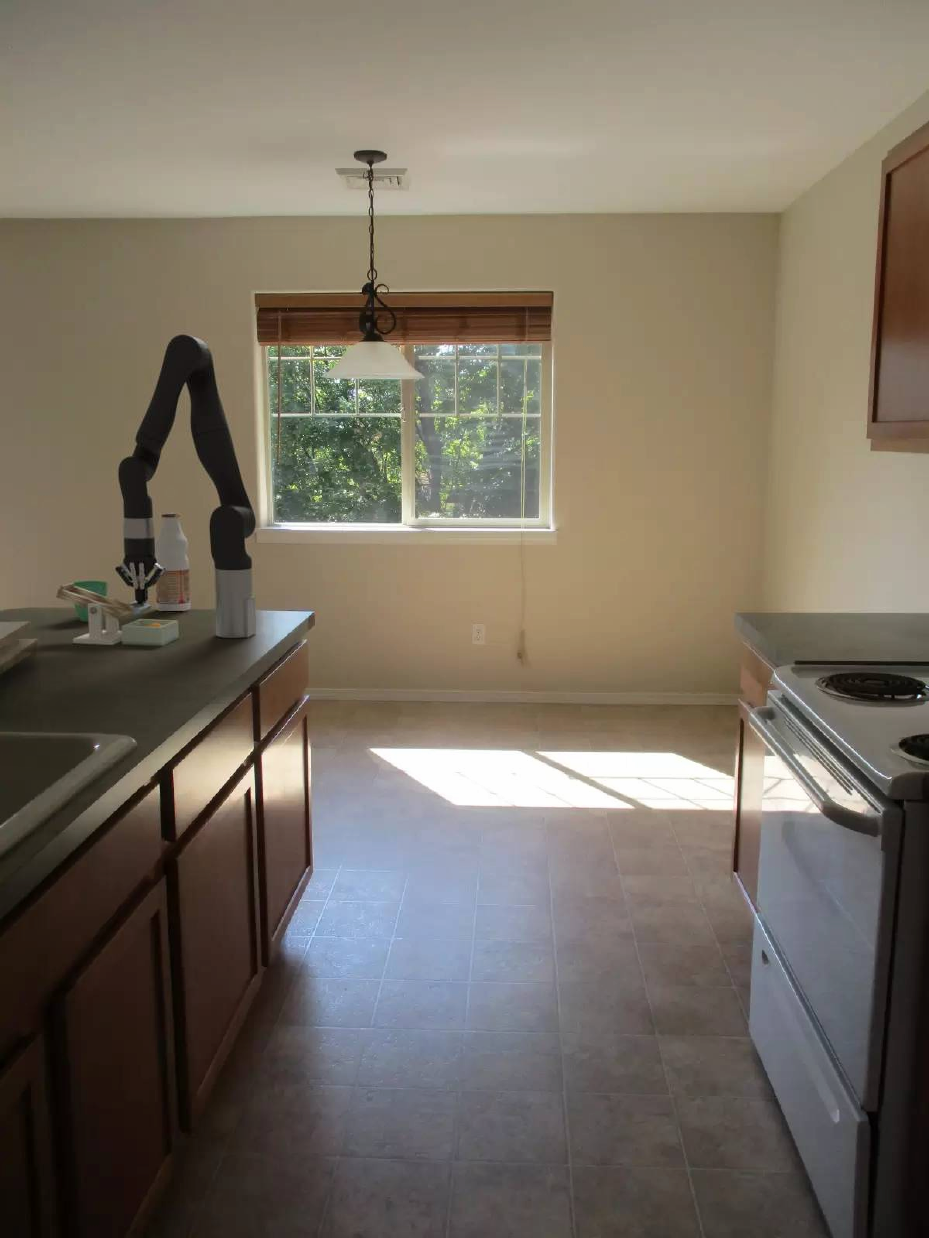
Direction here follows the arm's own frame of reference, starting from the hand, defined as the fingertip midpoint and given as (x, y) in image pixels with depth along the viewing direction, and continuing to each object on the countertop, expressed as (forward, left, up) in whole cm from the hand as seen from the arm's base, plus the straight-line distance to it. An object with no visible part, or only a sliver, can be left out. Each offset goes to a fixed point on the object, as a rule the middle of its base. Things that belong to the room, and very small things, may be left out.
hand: (141, 603), depth 258 cm
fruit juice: (+5, -32, -8) cm, 34 cm away
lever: (+7, +7, +1) cm, 9 cm away
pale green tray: (-8, +12, -7) cm, 16 cm away
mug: (+21, -14, -8) cm, 27 cm away
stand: (+4, +12, -7) cm, 14 cm away
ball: (-9, +12, -5) cm, 15 cm away
